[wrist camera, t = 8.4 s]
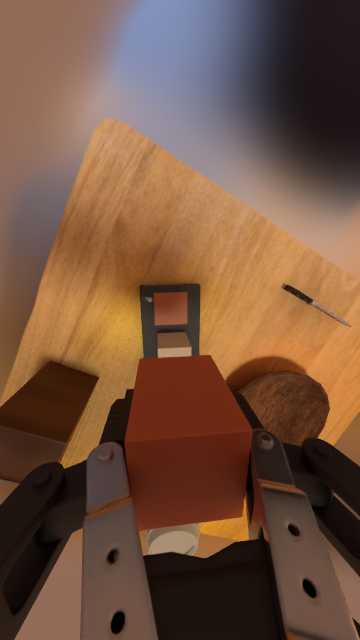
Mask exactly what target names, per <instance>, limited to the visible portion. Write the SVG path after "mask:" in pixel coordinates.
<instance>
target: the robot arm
mask: <svg viewBox="0 0 360 640" xmlns="http://www.w3.org/2000/svg"><path fill="white" fill-rule="evenodd" d="M226 384H227V386H228V387H229V389H230V391H231V393H232V395H233V396H234V398H235V400H236V402H237V403H238V405H239V407H240V409H241V411H242V412H243V414H244V416H245V418H246V419H247V421H248V423H249V425H250V426H251V428H252V439H251V448H250V456H249V465H248V474H247V482H246V491H245V501H246V511H247V521H248V531H249V540H247V541H240V542H235V543H233V544H231V545H230V546H227V547H226V548H224V549H222V550H221V551H219V552H217V553H215V554H214V555H212V556H210V557H208V558H199V557H195V556H190V555H186V554H181V553H176V552H166V553H159V554H152V555H145V556H143V553H142V548H141V542H140V537H139V531H138V526H137V520H136V515H135V509H134V504H133V499H132V496H131V493H130V488H129V482H128V473H127V463H126V453H125V442H124V441H125V436H126V430H127V425H128V420H129V414H130V409H131V404H132V398H133V393H134V389H127V391H126V395H125V399H117V400H116V401H115V402H114V403H113V405H112V406H111V409H110V412H109V415H108V418H107V421H106V424H105V427H104V430H103V433H102V437H101V440H100V443H99V446H97V447H96V448H94V449H93V450H92V452H91V453H90V454H89V456H88V459H86V460H85V461H83V462H81V463H79V464H76V465H73V466H71V467H68V468H66V469H64V468H63V466H62V464H60V463H58V462H49V463H45V464H43V465H40V466H39V467H37V468H35V469H34V470H32V471H31V472H30V473H29V474H28V475H27V476H26V477H25V478H24V479H23V480H22V481H21V483H20V484H19V485H18V486H17V487H16V488H15V489H14V490H13V491H12V493H11V494H10V495H9V496H8V497H7V498H6V499H5V500H4V501H3V503H2V504H1V505H0V640H14V639H15V637H16V635H17V634H18V632H19V630H20V628H21V626H22V624H23V623H24V620H25V619H26V617H27V615H28V613H29V611H30V610H31V608H32V606H33V604H34V602H35V600H36V599H37V597H38V595H39V593H40V591H41V589H42V587H43V585H44V583H45V582H46V580H47V578H48V576H49V575H50V573H51V571H52V569H53V567H54V565H55V564H56V562H57V560H58V558H59V556H60V554H61V552H62V551H63V549H64V547H65V545H66V543H67V541H68V540H69V538H70V536H71V534H72V533H73V532H75V531H77V530H79V529H81V528H83V548H82V593H81V631H80V640H360V625H359V623H358V622H356V621H355V620H354V619H353V618H352V617H351V614H350V611H349V608H348V606H347V603H346V600H345V597H344V595H343V592H342V589H341V587H340V584H339V581H338V578H337V576H336V573H335V570H334V567H333V565H332V562H331V560H330V557H329V554H328V551H327V548H326V546H325V543H324V540H323V538H322V535H321V532H322V533H323V534H324V536H325V537H326V538H327V539H328V540H329V541H330V543H331V544H332V545H333V546H334V547H335V548H336V550H337V551H338V552H339V553H340V554H341V556H342V557H343V558H344V559H345V560H346V561H347V563H348V564H349V565H350V566H351V567H352V568H353V570H354V571H355V572H356V573H357V574H358V576H359V577H360V520H359V519H357V517H355V515H354V514H353V513H351V512H350V511H349V510H348V509H347V508H346V507H345V506H344V505H343V504H342V503H341V502H340V501H339V500H338V499H337V498H336V497H335V496H334V492H335V493H336V494H337V495H338V496H339V497H340V498H341V499H342V500H343V501H344V502H346V504H347V505H349V506H350V507H351V508H352V509H353V510H354V511H355V512H356V513H357V514H358V515H359V516H360V467H359V466H358V465H357V464H356V463H354V462H353V461H352V460H350V459H349V458H348V457H346V456H345V455H344V454H343V453H341V452H340V451H339V450H337V449H336V448H335V447H333V446H332V445H331V444H329V443H327V442H326V441H324V440H321V439H318V438H306V439H305V440H304V441H303V444H302V446H299V445H294V444H289V443H284V442H281V440H280V438H279V437H278V436H277V435H276V434H274V433H273V432H271V431H269V430H266V429H265V428H264V426H263V425H262V423H261V422H260V420H259V418H258V417H257V415H256V414H255V412H254V411H253V409H252V408H251V406H250V405H249V404H248V401H247V400H246V398H245V397H244V396H243V395H242V394H241V393H239V392H238V391H232V389H231V388H230V386H229V384H228V383H226ZM320 531H321V532H320Z"/></svg>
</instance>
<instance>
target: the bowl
mask: <svg viewBox="0 0 360 640" xmlns="http://www.w3.org/2000/svg"><path fill="white" fill-rule="evenodd" d="M238 392H239V393H241V394H242V395H243V396H244V397H245V398H246V400H247V401H248V404H249V405H250V406H251V408H252V409H253V411H254V412H255V414H256V415H257V417H258V418H259V420H260V422H261V423H262V425H263V426H264V428H265V429H266V430H269V431H271V432H273V433H274V434H276V435H277V436H278V437H279V438H280V440H281V442H284V443H289V444H294V445H299V446H302V444H303V441H304V440H305V439H306V438H318V436H319V434H320V433H321V431H322V430H323V428H324V426H325V423H326V419H327V416H328V413H329V410H330V407H329V401H328V395H327V394H326V392H325V390H324V389H323V387H322V386H321V384H320V383H318V382H317V381H315V380H314V379H312V378H311V377H309V376H307V375H304V374H300V373H296V372H292V371H281V372H272V373H265V374H262V375H260V376H258V377H256V378H254V379H252V380H251V381H250V382H248V383H247V384H246V385H245V386H243V387H242V388H241V389H240V390H238Z"/></svg>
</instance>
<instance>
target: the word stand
mask: <svg viewBox="0 0 360 640" xmlns="http://www.w3.org/2000/svg"><path fill="white" fill-rule="evenodd" d="M98 379H99V378H98V377H95V376H92V375H89V374H86V373H84V372H81V371H78V370H75V369H72V368H70V367H67V366H64V365H61V364H58V363H56V362H53V361H50V362H49V363H47V364H46V365H45V366H44V367H43V368H42V369H41V370H40V371H39V372H38V373H37V374H36V375H35V376H33V377H32V378H31V379H30V380H29V381H28V382H27V383H26V384H25V385H24V386H23V387H22V388H21V389H20V390H18V391H17V392H16V393H15V394H14V395H13V396H12V397H11V398H10V399H9V400H8V401H7V402H6V403H4V404H3V405H2V406H1V407H0V505H1V504H2V503H3V501H4V500H5V499H6V498H7V497H8V496H9V495H10V494H11V493H12V491H13V490H14V489H15V488H16V487H17V486H18V485H19V484H20V483H21V481H22V480H23V479H24V478H25V477H26V476H27V475H28V474H29V473H30V472H31V471H32V470H34V469H35V468H37V467H39V466H40V465H43V464H45V463H49V462H58V463H60V462H61V460H62V457H63V455H64V453H65V451H66V449H67V447H68V444H69V442H70V440H71V438H72V436H73V434H74V431H75V429H76V427H77V425H78V423H79V420H80V418H81V416H82V414H83V412H84V410H85V407H86V405H87V403H88V401H89V399H90V396H91V394H92V392H93V390H94V388H95V386H96V383H97V381H98Z"/></svg>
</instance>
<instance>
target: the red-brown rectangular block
mask: <svg viewBox="0 0 360 640" xmlns="http://www.w3.org/2000/svg"><path fill="white" fill-rule="evenodd" d="M251 439H252V428H251V426H250V425H249V423H248V421H247V419H246V418H245V416H244V414H243V412H242V411H241V409H240V407H239V405H238V403H237V402H236V400H235V398H234V396H233V395H232V393H231V391H230V389H229V387H228V386H227V384H226V382H225V380H224V379H223V377H222V375H221V373H220V372H219V370H218V368H217V366H216V364H215V363H214V361H213V359H212V357H211V356H210V355H202V356H183V357H163V358H144V359H140V361H139V366H138V371H137V377H136V382H135V388H134V393H133V398H132V404H131V409H130V414H129V420H128V425H127V430H126V436H125V441H124V442H125V453H126V463H127V473H128V482H129V488H130V493H131V496H132V499H133V504H134V509H135V515H136V520H137V526H138V531H142V530H149V529H157V528H164V527H172V526H179V525H187V524H194V523H201V522H209V521H216V520H224V519H231V518H239V517H242V516H243V508H244V500H245V491H246V482H247V474H248V465H249V456H250V448H251Z"/></svg>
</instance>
